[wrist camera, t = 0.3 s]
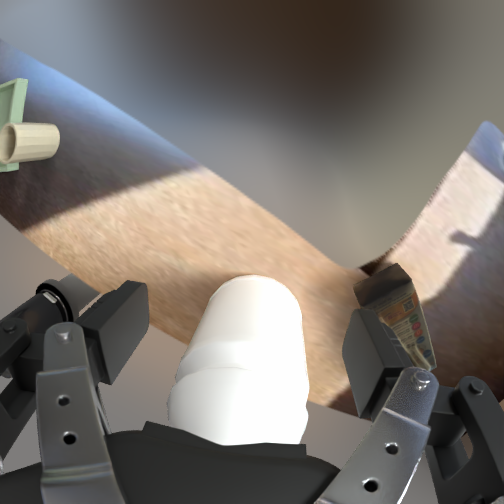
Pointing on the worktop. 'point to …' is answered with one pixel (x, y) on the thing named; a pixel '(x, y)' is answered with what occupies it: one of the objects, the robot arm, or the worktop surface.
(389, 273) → the beverage carton
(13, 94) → the tray
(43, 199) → the worktop surface
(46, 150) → the cup
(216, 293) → the bottle
